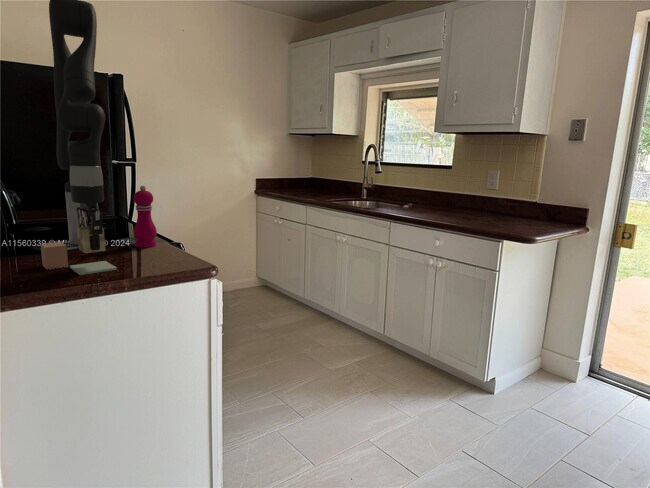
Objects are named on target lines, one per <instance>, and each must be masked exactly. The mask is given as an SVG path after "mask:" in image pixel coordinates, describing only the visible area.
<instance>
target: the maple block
mask: <svg viewBox="0 0 650 488" xmlns="http://www.w3.org/2000/svg"><path fill="white" fill-rule="evenodd" d="M94 230H97V229H96V227H94ZM77 231H78V242H79V245H78V250H79V251H81V252H82V253H84V254H88V253H89V254H90V253H96V252H97V253H99V252H106V240H105V229H104V228H103V233H102V234H100V235H99V239H100V249H99V250H91V249H90V238H89V231H88V228H86V227H78V228H77Z"/></svg>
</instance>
